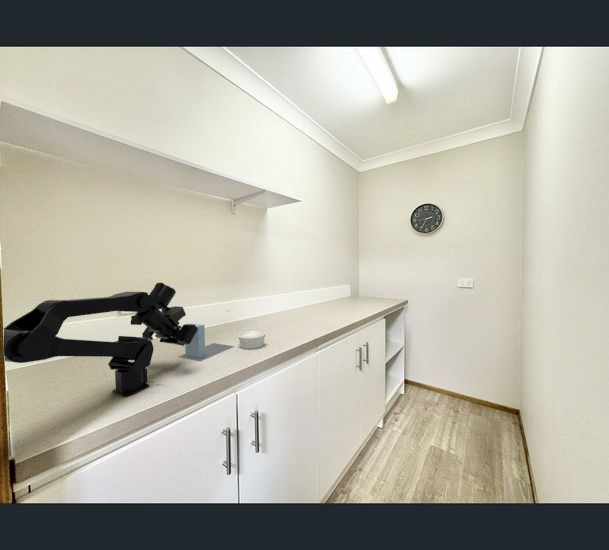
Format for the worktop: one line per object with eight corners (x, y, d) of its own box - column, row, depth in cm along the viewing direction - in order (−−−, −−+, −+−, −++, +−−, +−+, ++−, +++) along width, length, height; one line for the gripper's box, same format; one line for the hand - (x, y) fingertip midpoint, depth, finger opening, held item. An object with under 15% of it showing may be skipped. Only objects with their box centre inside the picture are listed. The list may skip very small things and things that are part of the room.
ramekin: (241, 342, 110) (241, 331, 110) (266, 342, 110) (266, 330, 110) (235, 351, 99) (235, 338, 99) (263, 350, 99) (263, 337, 99)
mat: (200, 362, 87) (200, 361, 87) (177, 357, 93) (177, 356, 93) (234, 347, 104) (234, 346, 104) (213, 343, 109) (213, 343, 109)
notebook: (198, 358, 90) (197, 326, 89) (185, 356, 93) (184, 324, 92) (205, 356, 93) (204, 324, 92) (192, 353, 96) (191, 323, 95)
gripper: (192, 300, 79) (215, 326, 90) (148, 299, 84) (175, 323, 95) (173, 330, 72) (201, 354, 82) (127, 327, 77) (158, 350, 88)
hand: (183, 344), depth 87 cm, fingers closed
